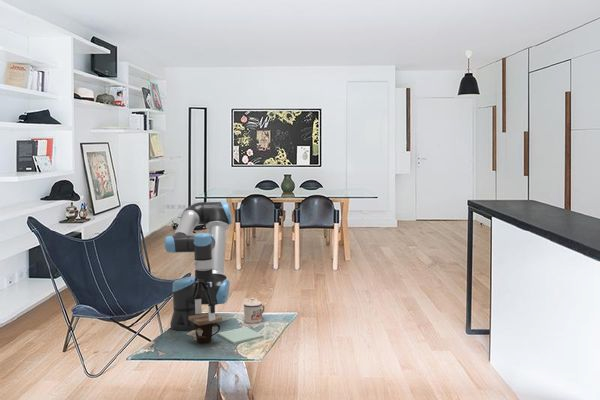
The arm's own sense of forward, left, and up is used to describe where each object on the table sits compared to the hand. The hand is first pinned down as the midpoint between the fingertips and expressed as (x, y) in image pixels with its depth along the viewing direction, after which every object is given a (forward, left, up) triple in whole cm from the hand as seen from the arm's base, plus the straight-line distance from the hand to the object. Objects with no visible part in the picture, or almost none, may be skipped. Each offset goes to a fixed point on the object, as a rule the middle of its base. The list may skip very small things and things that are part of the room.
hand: (205, 316), depth 257 cm
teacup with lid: (-15, +34, -12) cm, 39 cm away
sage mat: (+2, +16, -12) cm, 20 cm away
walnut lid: (0, 0, -2) cm, 2 cm away
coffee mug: (0, 0, -12) cm, 12 cm away
